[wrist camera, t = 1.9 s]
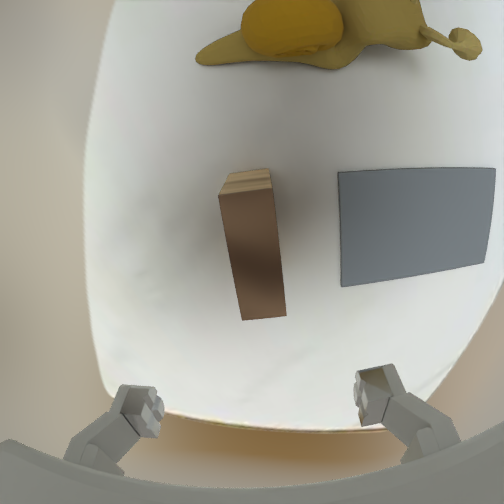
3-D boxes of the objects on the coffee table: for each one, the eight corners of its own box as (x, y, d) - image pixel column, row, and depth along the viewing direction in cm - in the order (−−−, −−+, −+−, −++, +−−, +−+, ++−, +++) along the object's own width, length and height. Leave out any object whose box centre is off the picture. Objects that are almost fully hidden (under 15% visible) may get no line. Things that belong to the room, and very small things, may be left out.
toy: (425, 69, 21) (490, 60, 12) (209, 101, 23) (180, 92, 14) (403, -1, 17) (456, -34, 8) (187, 25, 20) (151, -16, 11)
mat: (337, 172, 26) (338, 173, 25) (493, 168, 24) (495, 168, 24) (340, 285, 31) (341, 287, 30) (482, 261, 29) (483, 262, 29)
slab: (229, 173, 26) (218, 195, 19) (268, 168, 26) (272, 188, 19) (245, 271, 30) (242, 320, 23) (280, 267, 30) (286, 315, 23)
